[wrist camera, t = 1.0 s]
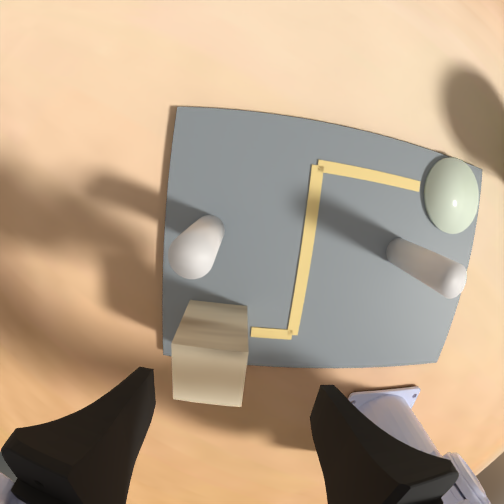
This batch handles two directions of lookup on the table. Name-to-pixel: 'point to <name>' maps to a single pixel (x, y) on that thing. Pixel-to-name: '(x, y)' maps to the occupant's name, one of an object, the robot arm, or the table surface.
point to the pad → (451, 195)
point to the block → (210, 354)
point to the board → (310, 240)
